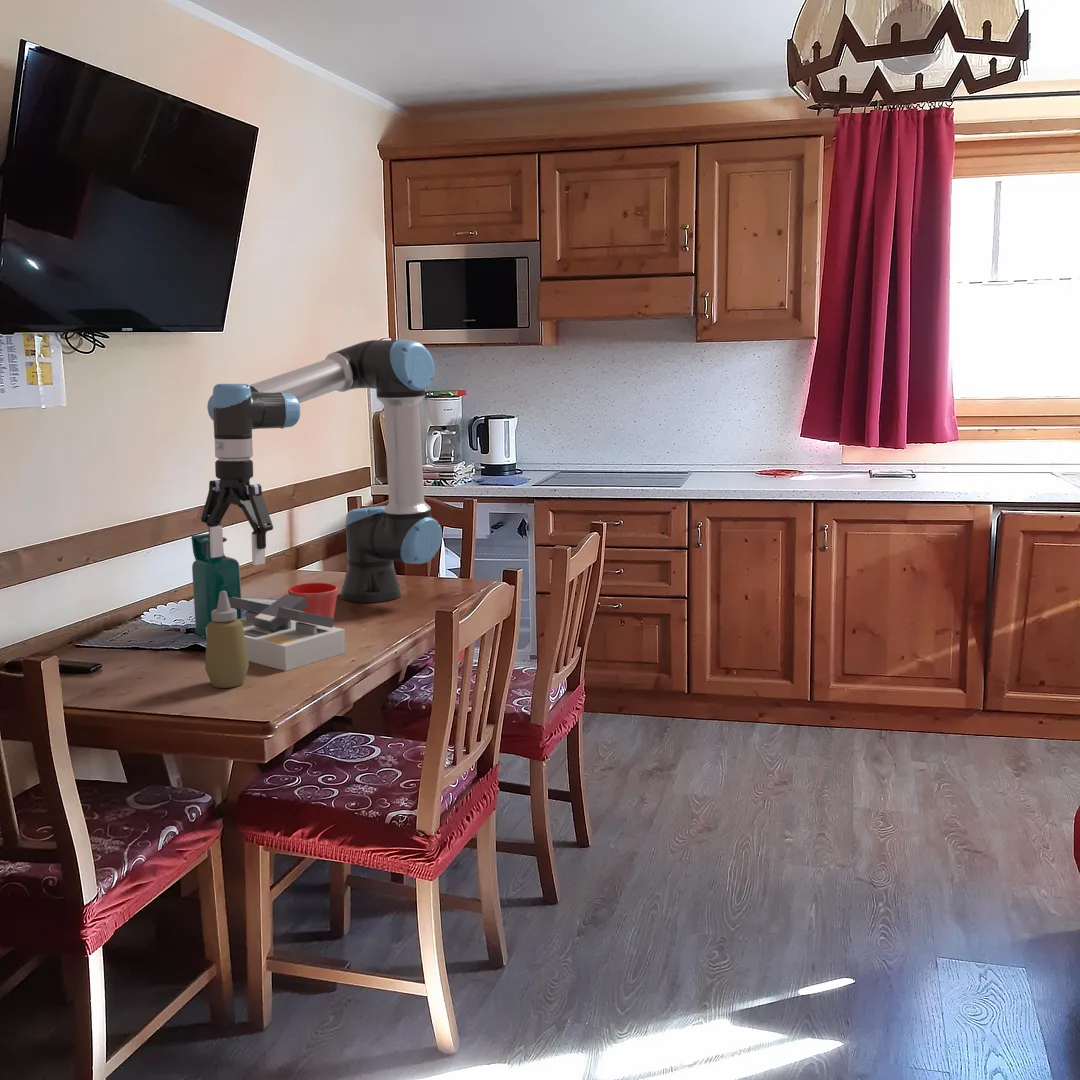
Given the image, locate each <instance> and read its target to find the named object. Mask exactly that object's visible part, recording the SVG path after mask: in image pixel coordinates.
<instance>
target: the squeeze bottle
mask: <svg viewBox="0 0 1080 1080" xmlns="http://www.w3.org/2000/svg"><path fill="white" fill-rule="evenodd" d="M211 615H212V620H213V621H211V622H210V623H209V624H207V639H206V638H205V639H206V643H205V645H206V646H205V659H204V660H205V662H204V664H205V665H204V670H205V671H206V674H207V677H208V678H209V681H210V683H211V685H212V686H213V687H215V688H220V689H221V688H222V689H226V688H227V689H228V688H235V687H238V686H240V685H243V684H244V683H245V680H246V676H247V672H248V670H249V666H250V663H249V662H250V661H248V655H247V649H246V642H245V636H244V630H243V623H242V622H241V621H240V620H238V619H237V610H236V609H234V608H231V606H230V603H229V599H228V596H227V592H226V591H220V594H219V600H218V606H217V609H215V610H213V611H211Z"/></svg>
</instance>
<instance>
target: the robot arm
mask: <svg viewBox="0 0 1080 1080" xmlns="http://www.w3.org/2000/svg"><path fill="white" fill-rule="evenodd" d="M434 376H435V363H434V360H433V357H432V355H431V353H430V351H429V350H428V349H427V348H426V347H425V345H423V343H421V342H418V341H415V340H409V339H386V340H384V339H381V340H377V339H372V340H366V341H362V342H359V343H356V344H353V345H351V346H347V347H345V348H344V347H343V348H342V349H339V350H336V351H333V352H331V353H329V354H327V355H326V357H325V359H323V360H321V361H317V362H314V363H311V364H308V365H306V366H303V367H299V368H297V369H293V370H290V371H288V372H285V373H282V374H279V375H276V376H272V377H270V378H267V379H263V380H261V381H258V382H255V383H252V384H248V383H217V384H215V385H214V386H213V388H212V389H213V390H212V395H211V396H210V397H209V399H208V402H207V407H206V408H207V412H208V416H209V418H210V419H211V420H212V421H213V434H214V435H213V436H214V438H213V439H214V457H215V458H216V459H217V460H215V462H214V468H215V469H214V470H215V471H214V472H215V478H216V480H215V479H214V480H210V481H209V482H208V483H209V485H208V493H207V497H206V500H205V503H204V507H203V511H202V513H201V518H200V521H201V523H205V524H206V526H207V527H208V534H209V540H210V553H211V558H215V557H221V556H223V551H224V542H223V537H224V536H223V526H222V524H223V523H222V520H223V518H224V516H225V515H226V512H227V511H228V509H229V507H230V505H235V506H238V507H239V508H240V509H241V510H242V512H243V514H244V516H245V517H246V520H247V521H248V523H249V524H250V527H251V528H252V530H253V531H252V532H251V534H250V535H251V557H252V559H251V560H252V566H257V565H259V566H260V565H265V564H266V548H267V538H266V537H267V532H270V531H273V530H274V525H273V523H272V522H273V521H272V519H271V517H270V513H269V511H268V508H267V505H266V502H265V499H264V496H263V490H262V485H261V484H260V483H256V484H251V482H250V480H251V479H252V478H253V477H254V462H253V460H252V459H251V458H253V456H254V451H253V450H254V448H253V447H254V445H253V430H257V429H258V430H260V429H261V430H262V429H265V430H266V429H281V430H282V429H285V428H290V427H291V428H292V427H294V426H295V425H296V424H297V423H298V422H299V420H300V417H301V405H300V404H301V403H304V402H307V401H309V400H312V399H316V398H318V397H322V396H323V395H326V394H330V393H332V392H335V391H338V392H339V393H344V392H347V391H350V390H356V389H375V390H376V392H375V393H376V399H377V400H378V401H379V402H380V403H381V404H382V405H383V417H384V435H385V453H386V454H385V455H386V469H387V470H386V472H387V485H388V486H387V489H388V490H387V491H388V503H387V505H379V506H376V505H375V506H368V507H367V506H366V507H361V508H354V509H350V510H349V511H348V512H347V513H346V517H345V520H346V521H345V537H346V557H347V558H346V559H347V560H346V561H347V569H346V572H345V576H344V579H343V580H344V581H343V584H342V586H341V592H340V593H341V598H342V599H343V600H345V601H349V602H356V603H378V602H380V603H381V602H387V601H391V600H395V599H398V598H400V597H401V596H402V586H401V584H400V583H399V579H398V576H397V573H396V569H395V566H394V562H400V563H401V562H402V563H404V564H409V565H413V564H415V565H421V564H423V565H424V564H426V563H428V562H429V561H430V560H432V559H433V558H434V557H435V556H436V554H437V552H439V549H440V547H441V544H442V539H443V531H442V527H441V525H440V523H439V521H438V520H436V519H434V517H432V508H431V506H430V505H429V504H428V503H427V502H426V501H425V492H424V491H425V489H424V470H423V449H422V447H423V446H422V433H421V432H422V430H421V429H422V428H421V412H420V409H421V407H420V404H421V402H422V401H423V400H424V398H425V397H426V389H428V387H430V386H431V384H432V380H434Z"/></svg>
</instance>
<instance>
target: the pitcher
mask: <svg viewBox="0 0 1080 1080" xmlns="http://www.w3.org/2000/svg"><path fill="white" fill-rule="evenodd" d="M190 539H191V545H192V553H193V557H194V560H195V561H193V563H192V566H191V573H192V574H191V575H192V587H193V589H192V591H193V603H194V605H193V606H194V607H193V608H194V622H195V623H194V625H195V633H196V635H198V636H200V635H201V636H200V637H203V636H204V637H203V638H206V627H207V624H209V623H210V622H211V621H213V620H212V615H211V611H213V610H215V609H217V606H218V600H219V594H220V591H226V592H227V596H228V599H229V597H236V598H241V599H242V589H241V585H242V584H241V570H240V569H241V567H240V563H239V562H238V560H237V559H236V558H233V557H230V556H226V555H225V553H224V552H225V551H224V550H223V556H221V557H215V558H211V553H210V540H209V533H204V534H202V533H201V534H197V535H192V536H191V537H190ZM227 541H228V538H227V537H226V536H225V537H224V536H223V543H225V542H227ZM231 608H234V607H231ZM234 609H236V610H237V619H241V618H243V609H239V608H234Z"/></svg>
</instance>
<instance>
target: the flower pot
mask: <svg viewBox="0 0 1080 1080" xmlns="http://www.w3.org/2000/svg"><path fill="white" fill-rule="evenodd" d="M338 590H339V588H338V586H337V585H335V584H333V583H332V584H331V583H328V582H327V583H326V582H307V583H301V584H296V585H292V586H290V587H288V589H287V593H288V595H293V596H298V597H303V598H305V599H306V602H307V605H308V606H307V607H306V608H304V609H303V610H302V611H303V612H306V613H311V614H316V615H320V616H325V617H330V618H334V616H335V611H336V605H337V598H338ZM334 619H335V618H334Z"/></svg>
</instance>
